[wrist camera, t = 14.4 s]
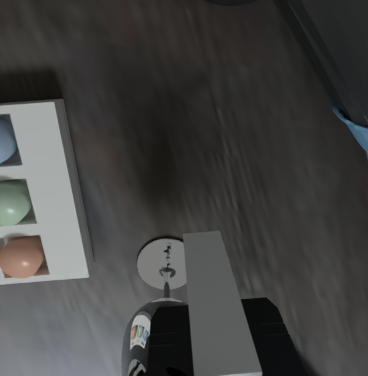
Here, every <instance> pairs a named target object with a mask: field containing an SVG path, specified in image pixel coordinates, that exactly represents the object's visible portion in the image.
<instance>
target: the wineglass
mask: <svg viewBox="0 0 368 376" xmlns="http://www.w3.org/2000/svg"><path fill="white" fill-rule="evenodd" d="M137 270H138V273H139V275H140V276H141V278H142V279H143V280H144V281H145V282H146V283H147V284H149V285H150V286H152V287H154V288H157V289H162V290H164V294H163V298H160V299H156V300H153V301H151V302H149V303H147V304H145V305H144V306H142V307H141V308H139V309H138V310H137V311H136V312H135V314H134V315H133V317H132V318H131V320H130V321H129V323H128V324H127V327H126V330H125V334H124V337H123V345H122V359H121V369H122V376H142V375H143V374H144V373H145V372H146V371H147V363H148V349H149V336H150V321H151V318H152V316H153V315H154V313H155V311H156V310H157V308H158V307H169V306H181V305H188V304H187V303H185V302H183V301H181V300H178V299H174V298H170V290H171V289H176V288H179V287H181V286H183V285H185V284H186V283H187V281H186V268H185V255H184V242H182V241H180V240H177V239H173V238H161V239H157V240H154V241H152V242H150V243H149V244H147V245H146V246H145V247H144V248H143V249H142V250H141V252H140V253H139V256H138V259H137Z"/></svg>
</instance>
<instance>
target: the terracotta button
mask: <svg viewBox="0 0 368 376" xmlns="http://www.w3.org/2000/svg"><path fill="white" fill-rule="evenodd" d="M44 259H45V253H44V249H43V245H42V241H41V237H40V236H39V235H33V236H20V237H12V238H11V239H10V241H9V242H8V243H7V244H6V245H5V246H4V247H3V248H2V250H1V251H0V268H1V269H2V270H3V271H4V272H5V273H6V274H8V275H10V276H12V277H15V278H28V277H30V276H32V275H34V274H35V273H36V271H37V270H38V268H39V267H40V265H41V264H42V262H43V261H44Z"/></svg>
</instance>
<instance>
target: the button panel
mask: <svg viewBox="0 0 368 376" xmlns="http://www.w3.org/2000/svg"><path fill="white" fill-rule="evenodd" d="M0 117H1V118H4V119H6V120H8V121H10V122H11V123H12V125H13V129H14V133H15V137H16V141H17V145H18V149H19V150H18V152H17V153H16V154H15V155H14V156H12V157H10V158H9V159H7V160H5V161H4V162H2V163H0V181H2V180H12V179H20V180H22V181H24V182H26V183H27V185H28V189H29V193H30V197H31V201H32V205H33V208H32V209H31V210H30V211H29V212H28V213H27V214H26V215H25V216H24V218H23V219H22V220H21V221H20V222H18V223H17V224H15V225H11V226H1V225H0V251H1V250H2V248H3V247H4V246H5V245H6V244H7V243H8V242H9V241H10V239H11V238H12V237H20V236H33V235H39V236H40V237H41V241H42V245H43V249H44V253H45V259H44V261H43V262H42V264H41V265H40V267H39V268H38V270H37V271H36V273H35V274H34V275H32V276H30V277H28V278H15V277H12V276H10V275H8V274H6V273H5V272H4V271H3V270H2V269H1V268H0V285H1V284H13V283H25V282H38V281H50V280H62V279H74V278H87V277H89V276H90V274H91V271H92V268H93V266H94V258H93V252H92V247H91V242H90V236H89V231H88V226H87V221H86V215H85V210H84V205H83V200H82V194H81V189H80V184H79V179H78V173H77V168H76V163H75V157H74V152H73V147H72V142H71V136H70V131H69V126H68V121H67V115H66V110H65V105H64V99H50V100H37V101H23V102H9V103H0Z"/></svg>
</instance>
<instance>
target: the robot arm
mask: <svg viewBox="0 0 368 376" xmlns="http://www.w3.org/2000/svg"><path fill="white" fill-rule="evenodd" d="M204 1H207V2H210V3H214V4H218V5H227V6H234V5H243V4H247V3H251V2H254V1H257V0H204ZM274 1H275V3H276V5H277V7H278V9H279V10H280V12H281V14H282V16H283V17H284V19H285V21H286V23H287V24H288V26H289V28H290V30H291V31H292V33H293V35H294V37H295V38H296V40H297V42H298V44H299V45H300V47H301V49H302V51H303V52H304V54H305V56H306V58H307V60H308V61H309V63H310V65H311V67H312V68H313V70H314V72H315V74H316V75H317V77H318V79H319V81H320V82H321V84H322V86H323V88H324V89H325V91H326V93H327V95H328V96H329V98H330V102H331V107H332V109H333V111H334V112H335V114H336V115H337V116H338V117H339V118H340V119H341V120H342V121H343V122H345V123H346V124H347V126H348V127H349V129H350V130H351V132H352V133H353V135H354V136H355V138H356V139H357V141H358V142H359V144H360V145H361V146H362V148H363V149H364V150H365V151H367V152H368V0H274ZM183 242H184V255H185V268H186V281H187V294H188V305H181V306H169V307H158V308H157V310H156V311H155V313H154V315H153V316H152V318H151V321H150V336H149V349H148V363H147V371H146V372H145V373H144V374H143V375H142V376H307V374H306V372H305V369H304V367H303V365H302V363H301V360H300V358H299V356H298V354H297V351H296V349H295V347H294V344H293V342H292V340H291V338H290V335H289V334H288V331H287V329H286V326H285V324H284V323H283V319H282V317H281V315H280V313H279V310H278V308H277V307H276V306H275V305H274V304H273V303H272V302H271V301H269V300H268V299H267V298H266V297H265V298H253V299H241V300H240V296H239V293H238V290H237V287H236V283H235V280H234V277H233V273H232V270H231V267H230V263H229V260H228V257H227V253H226V250H225V247H224V243H223V240H222V237H221V233H220V231H213V232H200V233H188V234H183Z"/></svg>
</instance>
